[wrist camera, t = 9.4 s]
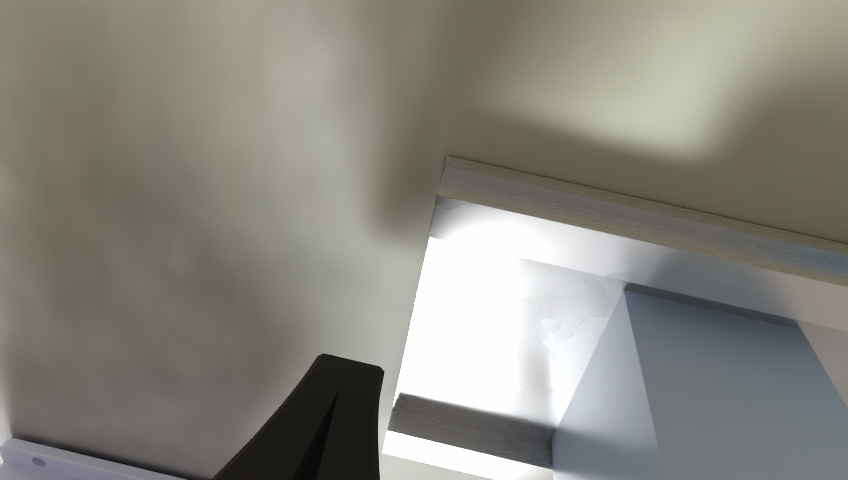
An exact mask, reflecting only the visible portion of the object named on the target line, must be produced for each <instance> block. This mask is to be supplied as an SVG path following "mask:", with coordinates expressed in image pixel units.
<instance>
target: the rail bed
mask: <svg viewBox="0 0 848 480" xmlns="http://www.w3.org/2000/svg"><path fill="white" fill-rule="evenodd" d="M428 237H429V240H428V245H427V250H426V254H425V259H424V264H423V269H422V273H421V278H420V283H419V287H418V292H417V297H416V301H415V306H414V311H413V315H412V320H411V325H410V330H409V334H408V339H407V344H406V348H405V353H404V358H403V362H402V367H401V372H400V377H399V381H398V386H397V391H396V395H395V400H394V405H393V409H392V413H391V417H390V422H389V426H388V430H387V434H386V439H385V444H384V449H383V453H386V454H390V455H394V456H398V457H403V458H407V459H411V460H415V461H419V462H424V463H428V464H432V465H436V466H441V467H445V468H449V469H453V470H457V471H462V472H466V473H470V474H474V475H479V476H483V477H487V478H491V479H495V480H553V459H552V438H553V436H554V434H555V432H556V430H557V427H558V425H559V423H560V421H561V419H562V417H563V415H564V413H565V411H566V409H567V407H568V405H569V402H570V400H571V398H572V396H573V394H574V392H575V390H576V388H577V386H578V384H579V382H580V379H581V377H582V375H583V373H584V371H585V369H586V367H587V365H588V363H589V361H590V359H591V357H592V354H593V352H594V350H595V348H596V346H597V344H598V342H599V340H600V338H601V336H602V334H603V331H604V329H605V327H606V325H607V323H608V321H609V319H610V317H611V315H612V313H613V311H614V308H615V306H616V304H617V302H618V300H619V298H620V296H621V294H622V292H623V290H626V291H630V292H635V293H639V294H644V295H648V296H653V297H657V298H662V299H666V300H671V301H675V302H680V303H684V304H688V305H693V306H697V307H702V308H706V309H711V310H715V311H720V312H724V313H729V314H733V315H738V316H742V317H747V318H751V319H755V320H760V321H764V322H769V323H773V324H778V325H782V326H787V327H791V328H796V329H800V330H802V331H803V333H804V334H805V336H806V338H807V340H808V341H809V343H810V345H811V346H812V348H813V350H814V352H815V353H816V355H817V357H818V359H819V360H820V362H821V364H822V365H823V367H824V369H825V371H826V372H827V374H828V376H829V377H830V379H831V381H832V383H833V384H834V386H835V388H836V389H837V391H838V393H839V395H840V396H841V398H842V400H843V402H844V403H845V405H846V407H847V408H848V244H844V243H839V242H835V241H830V240H826V239H821V238H817V237H812V236H808V235H803V234H799V233H794V232H790V231H785V230H781V229H776V228H772V227H767V226H763V225H758V224H754V223H749V222H745V221H740V220H736V219H731V218H727V217H722V216H718V215H713V214H709V213H704V212H700V211H695V210H691V209H686V208H682V207H677V206H673V205H668V204H664V203H659V202H655V201H650V200H646V199H641V198H637V197H632V196H628V195H623V194H619V193H614V192H610V191H605V190H601V189H596V188H592V187H587V186H583V185H578V184H574V183H569V182H565V181H560V180H556V179H551V178H547V177H542V176H538V175H533V174H529V173H524V172H520V171H515V170H511V169H506V168H502V167H497V166H493V165H488V164H484V163H479V162H475V161H470V160H466V159H461V158H457V157H452V156H448V155H447V158H446V162H445V165H444V170H443V175H442V179H441V183H440V186H439V190H438V194H437V198H436V203H435V208H434V213H433V217H432V222H431V227H430V231H429V236H428Z"/></svg>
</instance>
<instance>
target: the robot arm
mask: <svg viewBox="0 0 848 480" xmlns="http://www.w3.org/2000/svg"><path fill="white" fill-rule="evenodd" d="M383 377H384V371H383V370H382V368H381V367H379V366H375V365H371V364H366V363H362V362H358V361H354V360H349V359H345V358H341V357H337V356H332V355H328V354H324V353H323V354H321V355H319V356H317V358H316V359H315V361H314V363H313V364H312V366H311V367H310V368H309V370H308V371H307V373H306V374H305V376H304V377H303V378H302V380H301V381H300V382H299V384H298V385H297V386H296V387H295V389H294V390H293V391H292V392H291V394H290V395H289V396H288V397H287V399H286V400H285V401H284V402H283V404H282V405H281V406H280V407H279V408H278V409H277V411H276V412H275V413H274V414H273V415H272V416H271V417H270V419H269V420H268V421H267V422H266V423H265V424H264V425H263V427H262V428H261V429H260V430H259V431H258V432H257V433H256V434H255V435H254V437H253V438H252V439H251V440H250V441H249V442H248V443H247V444H246V445H245V446H244V447H243V448H242V449H241V450H240V451H239V452H238V453H237V454H236V455H235V456H234V457H233V458H232V459H231V460H230V461H229V462H228V463H227V464H226V465H225V466H224V467H223V468H222V469H221V470H220V471H219V472H218V473H217V474H216V475H215V476H214V477H213V478H212V479H211V480H380V474H379V453H378V412H379V398H380V393H381V388H382V382H383ZM0 454H1V456H2V459H3V461H4V462H3V463H2V464H1V466H0V480H186V479H182V478H178V477H174V476H170V475H166V474H162V473H157V472H153V471H149V470H145V469H141V468H137V467H132V466H128V465H124V464H120V463H116V462H112V461H107V460H103V459H99V458H95V457H91V456H87V455H83V454H78V453H74V452H70V451H66V450H62V449H58V448H53V447H49V446H45V445H41V444H37V443H33V442H29V441H24V440H20V439H15V438H11V439H7V440H6V441H5V443H4V444H3V445H2V446H1V447H0Z"/></svg>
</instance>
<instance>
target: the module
mask: <svg viewBox="0 0 848 480" xmlns="http://www.w3.org/2000/svg"><path fill="white" fill-rule="evenodd" d="M552 459H553V480H848V408H847V407H846V405H845V403H844V402H843V400H842V398H841V396H840V395H839V393H838V391H837V389H836V388H835V386H834V384H833V383H832V381H831V379H830V377H829V376H828V374H827V372H826V371H825V369H824V367H823V365H822V364H821V362H820V360H819V359H818V357H817V355H816V353H815V352H814V350H813V348H812V346H811V345H810V343H809V341H808V340H807V338H806V336H805V334H804V333H803V331H802V330H800V329H796V328H791V327H787V326H782V325H778V324H773V323H769V322H764V321H760V320H755V319H751V318H747V317H742V316H738V315H733V314H729V313H724V312H720V311H715V310H711V309H706V308H702V307H697V306H693V305H688V304H684V303H680V302H675V301H671V300H666V299H662V298H657V297H653V296H648V295H644V294H639V293H635V292H630V291H626V290H623V292H622V294H621V296H620V298H619V300H618V302H617V304H616V306H615V308H614V311H613V313H612V315H611V317H610V319H609V321H608V323H607V325H606V327H605V329H604V331H603V334H602V336H601V338H600V340H599V342H598V344H597V346H596V348H595V350H594V352H593V354H592V357H591V359H590V361H589V363H588V365H587V367H586V369H585V371H584V373H583V375H582V377H581V379H580V382H579V384H578V386H577V388H576V390H575V392H574V394H573V396H572V398H571V400H570V402H569V405H568V407H567V409H566V411H565V413H564V415H563V417H562V419H561V421H560V423H559V425H558V427H557V430H556V432H555V434H554V436H553V438H552Z"/></svg>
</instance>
